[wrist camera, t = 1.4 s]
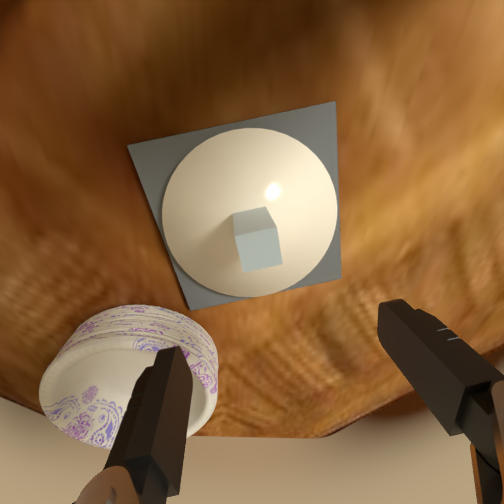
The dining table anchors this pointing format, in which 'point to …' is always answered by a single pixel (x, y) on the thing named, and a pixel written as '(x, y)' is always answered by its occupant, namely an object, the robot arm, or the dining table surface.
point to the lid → (249, 212)
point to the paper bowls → (123, 370)
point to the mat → (179, 146)
